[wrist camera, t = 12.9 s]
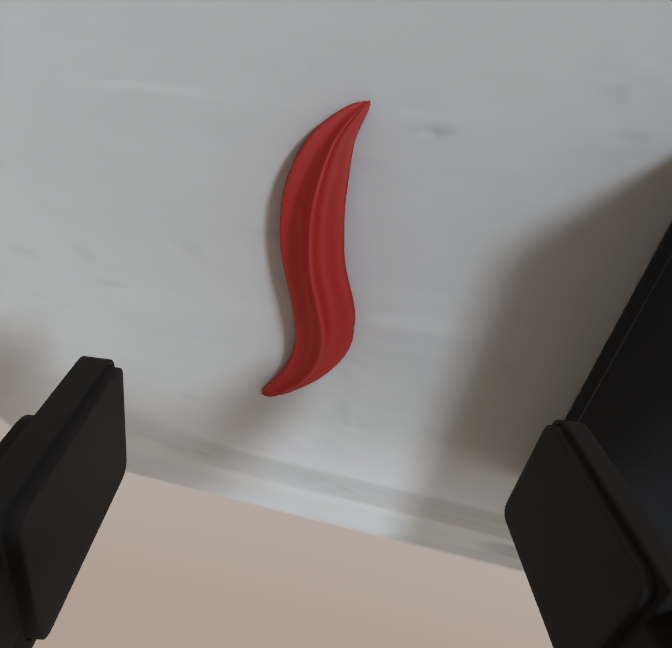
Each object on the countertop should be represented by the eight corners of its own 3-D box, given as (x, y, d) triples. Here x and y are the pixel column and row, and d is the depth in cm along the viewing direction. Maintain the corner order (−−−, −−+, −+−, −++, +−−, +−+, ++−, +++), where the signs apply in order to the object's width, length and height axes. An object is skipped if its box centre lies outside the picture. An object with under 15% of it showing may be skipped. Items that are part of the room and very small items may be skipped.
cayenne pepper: (311, 409, 21) (310, 441, 20) (207, 375, 20) (197, 405, 18) (456, 144, 16) (473, 157, 14) (326, 78, 15) (327, 83, 13)
